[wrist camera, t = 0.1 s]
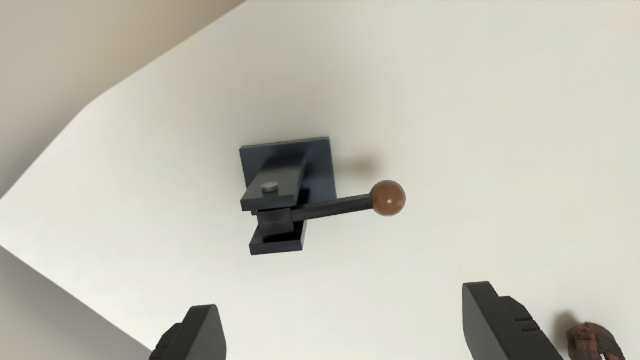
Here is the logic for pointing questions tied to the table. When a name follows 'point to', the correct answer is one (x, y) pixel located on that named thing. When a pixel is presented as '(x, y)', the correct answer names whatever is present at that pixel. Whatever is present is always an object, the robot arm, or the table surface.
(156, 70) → the table surface
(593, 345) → the brown curved ring piece
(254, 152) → the bracket
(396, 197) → the lever
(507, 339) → the robot arm
